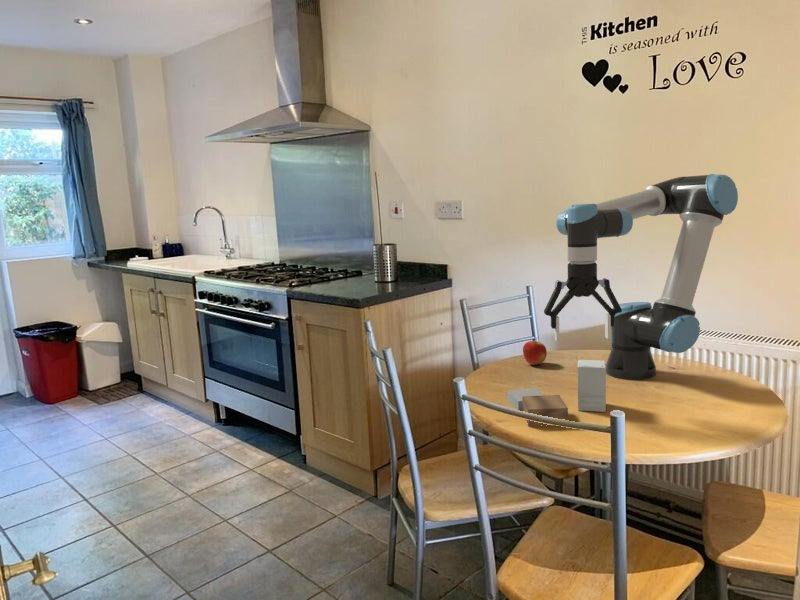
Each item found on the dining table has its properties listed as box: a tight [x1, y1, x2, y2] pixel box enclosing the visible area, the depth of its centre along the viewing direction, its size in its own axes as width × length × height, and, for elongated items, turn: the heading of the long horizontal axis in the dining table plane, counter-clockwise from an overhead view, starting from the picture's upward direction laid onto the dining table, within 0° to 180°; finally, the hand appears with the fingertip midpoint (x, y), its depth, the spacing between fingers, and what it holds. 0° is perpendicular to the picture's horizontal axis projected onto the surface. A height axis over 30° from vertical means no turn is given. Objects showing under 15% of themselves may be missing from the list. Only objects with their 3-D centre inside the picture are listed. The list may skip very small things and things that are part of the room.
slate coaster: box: [506, 387, 545, 411], centre depth 164 cm, size 9×9×3 cm
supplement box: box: [576, 359, 607, 413], centre depth 157 cm, size 7×7×13 cm
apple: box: [522, 337, 548, 366], centre depth 200 cm, size 8×8×10 cm
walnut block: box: [522, 394, 569, 427], centre depth 152 cm, size 10×10×5 cm
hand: (582, 339), depth 157 cm, fingers open, 13 cm apart
